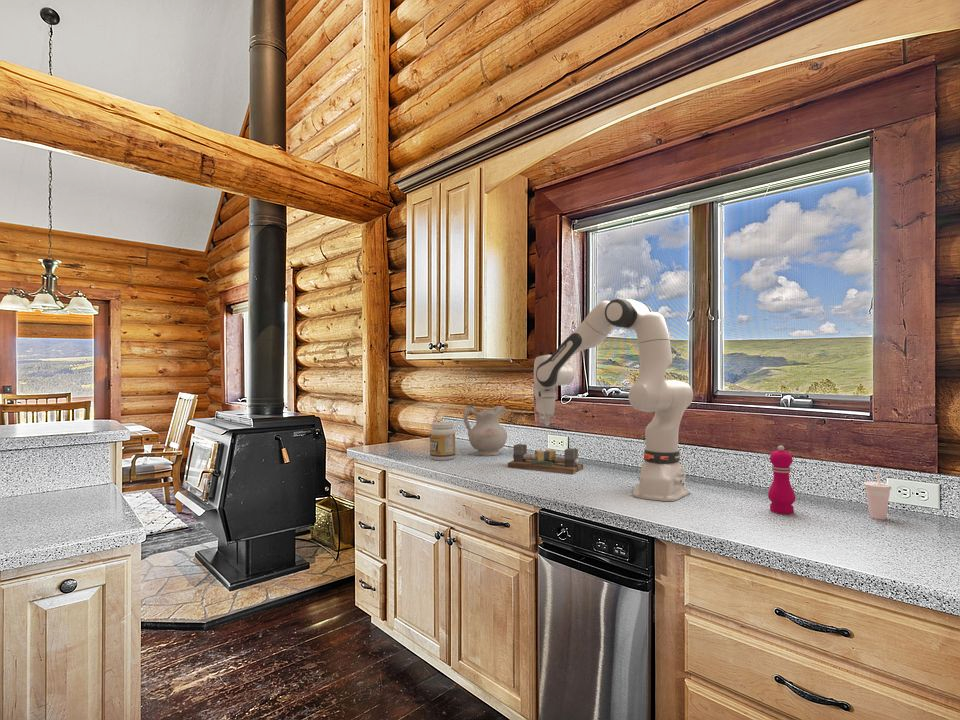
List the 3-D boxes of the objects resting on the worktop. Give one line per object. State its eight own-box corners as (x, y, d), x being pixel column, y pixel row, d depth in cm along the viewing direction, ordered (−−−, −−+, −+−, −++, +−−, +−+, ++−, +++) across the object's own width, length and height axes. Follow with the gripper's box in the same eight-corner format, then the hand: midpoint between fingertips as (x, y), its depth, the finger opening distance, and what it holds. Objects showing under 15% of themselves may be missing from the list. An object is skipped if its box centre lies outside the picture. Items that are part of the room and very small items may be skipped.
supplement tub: (424, 458, 250) (424, 423, 250) (444, 455, 258) (444, 421, 258) (440, 462, 241) (440, 425, 241) (460, 458, 249) (460, 423, 249)
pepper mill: (763, 507, 162) (762, 443, 162) (787, 507, 162) (786, 443, 162) (776, 514, 155) (775, 447, 155) (800, 514, 155) (800, 447, 155)
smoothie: (897, 519, 149) (896, 470, 149) (880, 521, 147) (880, 472, 147) (874, 513, 155) (874, 466, 155) (858, 515, 153) (858, 467, 153)
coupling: (555, 460, 224) (555, 450, 224) (537, 461, 223) (537, 451, 223) (552, 458, 228) (552, 449, 228) (534, 459, 226) (534, 450, 226)
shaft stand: (572, 474, 212) (572, 452, 212) (508, 467, 228) (507, 446, 228) (583, 468, 223) (583, 447, 223) (520, 462, 238) (520, 442, 238)
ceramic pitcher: (472, 461, 248) (474, 409, 246) (457, 451, 266) (458, 403, 264) (513, 457, 257) (514, 407, 255) (495, 448, 274) (497, 401, 273)
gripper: (532, 390, 235) (532, 421, 235) (542, 393, 215) (542, 427, 215) (546, 390, 236) (546, 421, 236) (557, 393, 215) (557, 426, 215)
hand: (544, 424), depth 225 cm, fingers open, 8 cm apart
